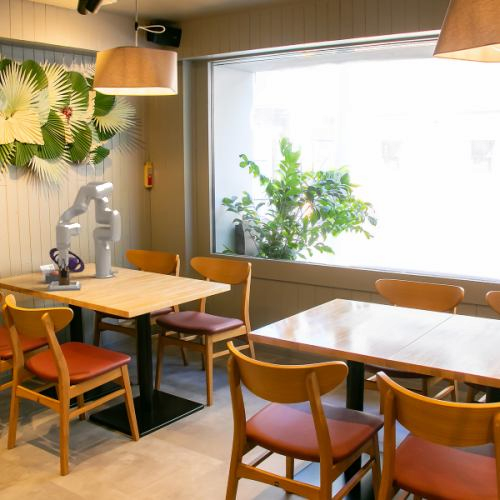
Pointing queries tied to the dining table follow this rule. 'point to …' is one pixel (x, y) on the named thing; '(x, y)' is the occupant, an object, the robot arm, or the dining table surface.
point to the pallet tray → (73, 286)
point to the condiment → (64, 278)
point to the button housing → (51, 278)
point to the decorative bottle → (71, 263)
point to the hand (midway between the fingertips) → (64, 275)
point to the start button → (54, 273)
